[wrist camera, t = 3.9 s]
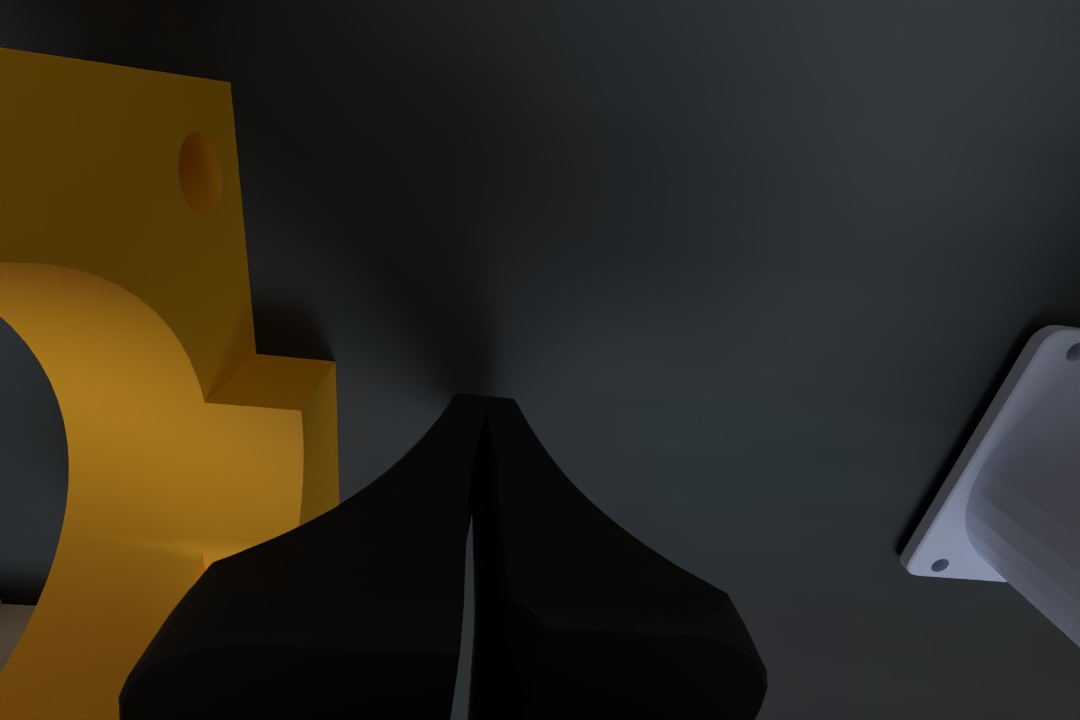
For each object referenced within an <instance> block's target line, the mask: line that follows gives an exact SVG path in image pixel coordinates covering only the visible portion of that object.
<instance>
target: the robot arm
mask: <svg viewBox="0 0 1080 720" xmlns="http://www.w3.org/2000/svg"><path fill="white" fill-rule="evenodd" d="M471 516H472V524H473V563H474V600H475V611H474V637H473V652H472V666H471V680H470V694H469V708H468V720H755V718H756V716H757V714H758V712H759V710H760V708H761V706H762V703H763V700H764V697H765V694H766V691H767V688H768V686H767V672H766V668H765V666H764V664H763V662H762V660H761V658H760V656H759V654H758V652H757V650H756V647H755V645H754V643H753V641H752V638H751V636H750V634H749V632H748V630H747V628H746V626H745V624H744V622H743V620H742V619H741V617H740V615H739V613H738V612H737V610H736V608H735V606H734V605H733V603H732V601H731V599H730V598H729V596H728V594H727V593H725V592H723V591H722V590H720V589H718V588H716V587H714V586H713V585H711V584H709V583H707V582H705V581H704V580H702V579H700V578H698V577H696V576H695V575H693V574H691V573H689V572H687V571H686V570H684V569H682V568H680V567H678V566H677V565H675V564H673V563H672V562H670V561H669V560H667V559H666V558H664V557H663V556H661V555H660V554H658V553H657V552H655V551H654V550H652V549H650V548H649V547H647V546H646V545H644V544H643V543H642V542H640V541H639V540H637V539H636V538H635V537H633V536H632V535H631V534H629V533H628V532H627V531H625V530H624V529H623V528H622V527H620V526H619V525H618V524H617V523H615V522H614V521H613V520H612V519H610V518H609V517H608V516H607V515H605V514H604V513H603V512H602V511H601V510H600V509H599V508H597V507H596V506H595V505H594V504H593V503H592V502H591V501H590V500H589V499H588V498H587V497H586V496H585V495H584V494H583V493H582V492H581V491H580V490H579V489H578V488H577V487H576V486H575V485H574V484H573V483H572V482H571V481H570V480H569V479H568V478H567V477H566V475H565V474H564V473H563V472H562V471H561V469H560V468H559V467H558V466H557V464H556V463H555V462H554V461H553V459H552V458H551V457H550V455H549V454H548V452H547V451H546V450H545V448H544V447H543V445H542V444H541V442H540V441H539V439H538V438H537V437H536V435H535V433H534V432H533V430H532V429H531V427H530V425H529V424H528V422H527V420H526V419H525V417H524V415H523V413H522V411H521V410H520V408H519V406H518V404H517V403H516V401H515V400H514V399H509V398H499V397H490V396H481V395H472V394H462V393H457V394H456V395H455V396H453V397H452V399H451V401H450V403H449V404H448V406H447V407H446V409H445V410H444V412H443V413H442V414H441V416H440V417H439V418H438V420H437V421H436V422H435V423H434V424H433V426H432V427H431V428H430V429H429V430H428V431H427V433H426V434H425V435H424V436H423V437H422V438H421V439H420V440H419V441H418V442H417V443H416V444H415V445H414V446H413V447H412V448H411V449H410V450H409V451H408V452H407V453H406V454H405V455H404V456H403V457H402V458H401V459H400V460H399V461H398V462H397V463H395V464H394V465H393V466H392V467H391V468H390V469H388V470H387V471H386V472H385V473H384V474H382V475H381V476H380V477H378V478H377V479H376V480H375V481H373V482H372V483H371V484H369V485H368V486H367V487H365V488H364V489H362V490H361V491H359V492H358V493H356V494H355V495H353V496H352V497H350V498H349V499H347V500H346V501H344V502H343V503H341V504H339V505H338V506H336V507H334V508H333V509H331V510H329V511H327V512H326V513H324V514H322V515H320V516H318V517H316V518H314V519H313V520H311V521H309V522H307V523H305V524H303V525H300V526H298V527H296V528H294V529H292V530H290V531H288V532H286V533H284V534H282V535H279V536H277V537H275V538H273V539H270V540H268V541H265V542H263V543H260V544H258V545H256V546H253V547H251V548H248V549H246V550H243V551H241V552H238V553H236V554H233V555H231V556H229V557H226V558H223V559H220V560H218V561H215V562H213V563H212V564H211V565H210V566H209V567H208V568H207V569H206V571H205V572H204V573H203V574H202V576H201V577H200V578H199V579H198V581H197V582H196V583H195V584H194V585H193V586H192V587H191V588H190V589H189V591H188V592H187V593H186V594H185V595H184V597H183V598H182V599H181V600H180V602H179V603H178V604H177V605H176V607H175V608H174V609H173V610H172V612H171V613H170V614H169V616H168V617H167V619H166V620H165V622H164V623H163V625H162V626H161V628H160V629H159V631H158V632H157V634H156V635H155V637H154V638H153V639H152V641H151V642H150V644H149V645H148V647H147V648H146V650H145V651H144V653H143V654H142V656H141V657H140V659H139V660H138V662H137V663H136V665H135V666H134V668H133V669H132V671H131V672H130V674H129V675H128V677H127V679H126V681H125V683H124V686H123V688H122V690H121V692H120V695H119V718H120V720H450V718H451V711H452V704H453V697H454V690H455V683H456V676H457V669H458V662H459V655H460V645H461V633H462V621H463V608H464V582H465V557H466V541H467V536H468V531H469V526H470V521H471ZM900 562H901V564H902V565H903V566H904V567H905V568H906V569H907V571H908V572H909V573H911V574H913V575H919V576H932V577H946V578H960V579H974V580H987V581H1001V582H1009V583H1010V584H1011V585H1012V586H1013V587H1014V588H1015V589H1016V590H1017V591H1018V592H1020V593H1021V594H1022V595H1023V596H1024V597H1025V598H1026V599H1027V600H1028V601H1029V602H1031V603H1032V604H1033V605H1034V606H1035V607H1036V608H1037V609H1038V610H1039V611H1040V612H1042V613H1043V614H1044V615H1045V616H1046V617H1047V618H1048V619H1049V620H1050V621H1051V622H1053V623H1054V624H1055V625H1056V626H1057V627H1058V628H1059V629H1060V630H1061V631H1062V632H1064V633H1065V634H1066V635H1067V636H1068V637H1069V638H1070V639H1071V640H1072V641H1073V642H1075V643H1076V644H1077V645H1078V646H1079V647H1080V328H1074V327H1068V326H1061V325H1049V326H1047V327H1044V328H1042V329H1040V330H1038V331H1037V332H1036V333H1034V334H1033V335H1032V337H1031V338H1030V339H1029V340H1028V342H1027V343H1026V345H1025V347H1024V348H1023V350H1022V352H1021V354H1020V355H1019V357H1018V359H1017V360H1016V362H1015V364H1014V365H1013V367H1012V369H1011V370H1010V372H1009V374H1008V375H1007V377H1006V379H1005V380H1004V382H1003V384H1002V386H1001V387H1000V389H999V391H998V392H997V394H996V396H995V397H994V399H993V401H992V402H991V404H990V406H989V407H988V409H987V411H986V412H985V414H984V416H983V417H982V419H981V421H980V423H979V424H978V426H977V428H976V429H975V431H974V433H973V434H972V436H971V438H970V439H969V441H968V443H967V444H966V446H965V448H964V449H963V451H962V453H961V455H960V456H959V458H958V460H957V461H956V463H955V465H954V466H953V468H952V470H951V471H950V473H949V475H948V476H947V478H946V480H945V481H944V483H943V485H942V486H941V488H940V490H939V492H938V493H937V495H936V497H935V498H934V500H933V502H932V503H931V505H930V507H929V508H928V510H927V512H926V513H925V515H924V517H923V518H922V520H921V522H920V524H919V525H918V527H917V529H916V530H915V532H914V534H913V535H912V537H911V539H910V540H909V542H908V544H907V545H906V547H905V549H904V550H903V552H902V554H901V557H900Z"/></svg>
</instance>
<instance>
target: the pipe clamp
mask: <svg viewBox="0 0 1080 720" xmlns="http://www.w3.org/2000/svg"><path fill="white" fill-rule="evenodd" d="M0 316H1V317H2V318H3V319H4V320H5V321H6V322H7V323H8V324H9V325H11V326H12V328H13V329H14V330H15V331H16V332H17V333H18V334H19V335H20V336H21V338H22V339H23V340H24V341H25V342H26V343H27V344H28V346H29V347H30V349H31V350H32V352H33V353H34V354H35V356H36V357H37V359H38V360H39V362H40V363H41V365H42V367H43V369H44V370H45V372H46V374H47V376H48V378H49V380H50V382H51V384H52V387H53V389H54V392H55V394H56V396H57V399H58V402H59V405H60V409H61V412H62V416H63V419H64V424H65V430H66V436H67V442H68V455H69V487H68V496H67V505H66V512H65V517H64V522H63V528H62V533H61V536H60V540H59V544H58V548H57V551H56V555H55V558H54V561H53V564H52V567H51V570H50V573H49V576H48V579H47V581H46V584H45V586H44V589H43V591H42V594H41V596H40V598H39V601H38V603H37V606H36V608H35V610H34V612H33V614H32V616H31V618H30V620H29V622H28V624H27V626H26V628H25V631H24V633H23V634H22V636H21V638H20V640H19V642H18V643H17V645H16V647H15V649H14V651H13V653H12V654H11V656H10V658H9V660H8V661H7V663H6V665H5V666H4V668H3V669H2V671H1V673H0V720H120V718H119V695H120V692H121V690H122V688H123V686H124V683H125V681H126V679H127V677H128V675H129V674H130V672H131V671H132V669H133V668H134V666H135V665H136V663H137V662H138V660H139V659H140V657H141V656H142V654H143V653H144V651H145V650H146V648H147V647H148V645H149V644H150V642H151V641H152V639H153V638H154V637H155V635H156V634H157V632H158V631H159V629H160V628H161V626H162V625H163V623H164V622H165V620H166V619H167V617H168V616H169V614H170V613H171V612H172V610H173V609H174V608H175V607H176V605H177V604H178V603H179V602H180V600H181V599H182V598H183V597H184V595H185V594H186V593H187V592H188V591H189V589H190V588H191V587H192V586H193V585H194V584H195V583H196V582H197V581H198V579H199V578H200V577H201V576H202V574H203V573H204V572H205V571H206V569H207V568H208V567H209V566H210V565H211V564H212V563H213V562H215V561H218V560H220V559H223V558H226V557H229V556H231V555H233V554H236V553H238V552H241V551H243V550H246V549H248V548H251V547H253V546H256V545H258V544H260V543H263V542H265V541H268V540H270V539H273V538H275V537H277V536H279V535H282V534H284V533H286V532H288V531H290V530H292V529H294V528H296V527H298V526H300V525H303V524H305V523H307V522H309V521H311V520H313V519H314V518H316V517H318V516H320V515H322V514H324V513H326V512H327V511H329V510H331V509H333V508H334V507H336V506H338V505H339V473H338V434H337V396H336V362H335V361H325V360H314V359H304V358H293V357H283V356H272V355H262V354H256V345H255V335H254V324H253V314H252V303H251V293H250V282H249V272H248V261H247V251H246V240H245V230H244V219H243V209H242V198H241V188H240V177H239V167H238V156H237V146H236V135H235V125H234V114H233V104H232V93H231V83H230V82H225V81H218V80H212V79H205V78H198V77H192V76H185V75H179V74H172V73H166V72H159V71H153V70H146V69H140V68H133V67H127V66H120V65H114V64H107V63H101V62H94V61H88V60H81V59H74V58H68V57H61V56H54V55H48V54H41V53H34V52H28V51H21V50H14V49H8V48H1V47H0Z"/></svg>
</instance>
